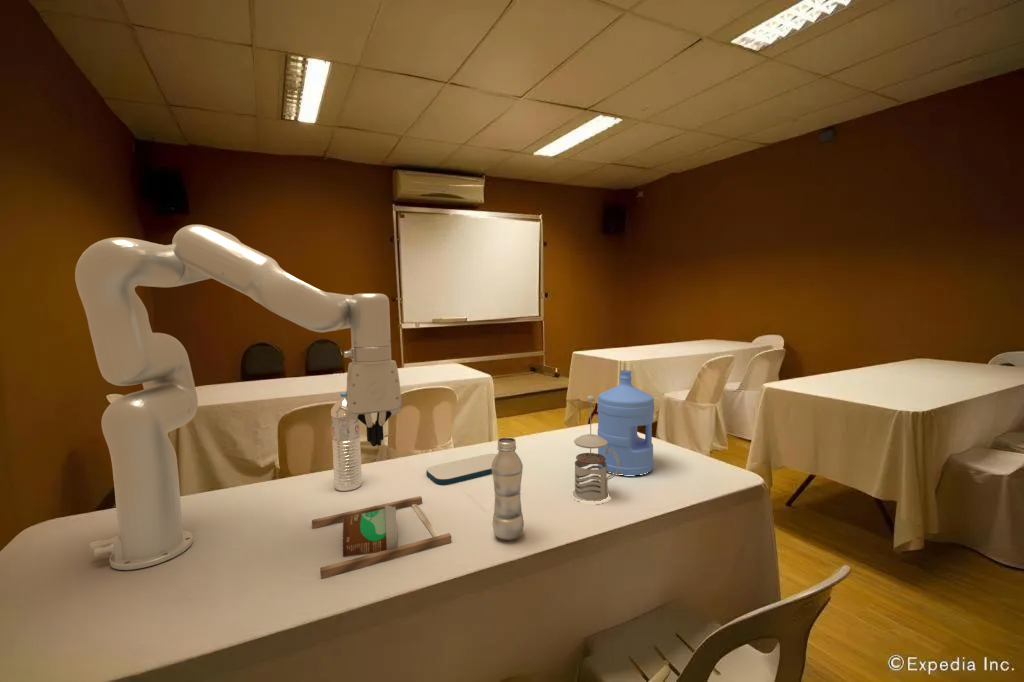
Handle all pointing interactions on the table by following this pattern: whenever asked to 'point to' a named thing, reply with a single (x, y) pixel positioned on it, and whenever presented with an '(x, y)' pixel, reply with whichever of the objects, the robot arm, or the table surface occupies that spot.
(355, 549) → the food container
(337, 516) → the wooden frame
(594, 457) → the french press
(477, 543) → the table surface
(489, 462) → the external hard drive
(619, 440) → the water jug
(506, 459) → the plastic bottle
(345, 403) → the water bottle
